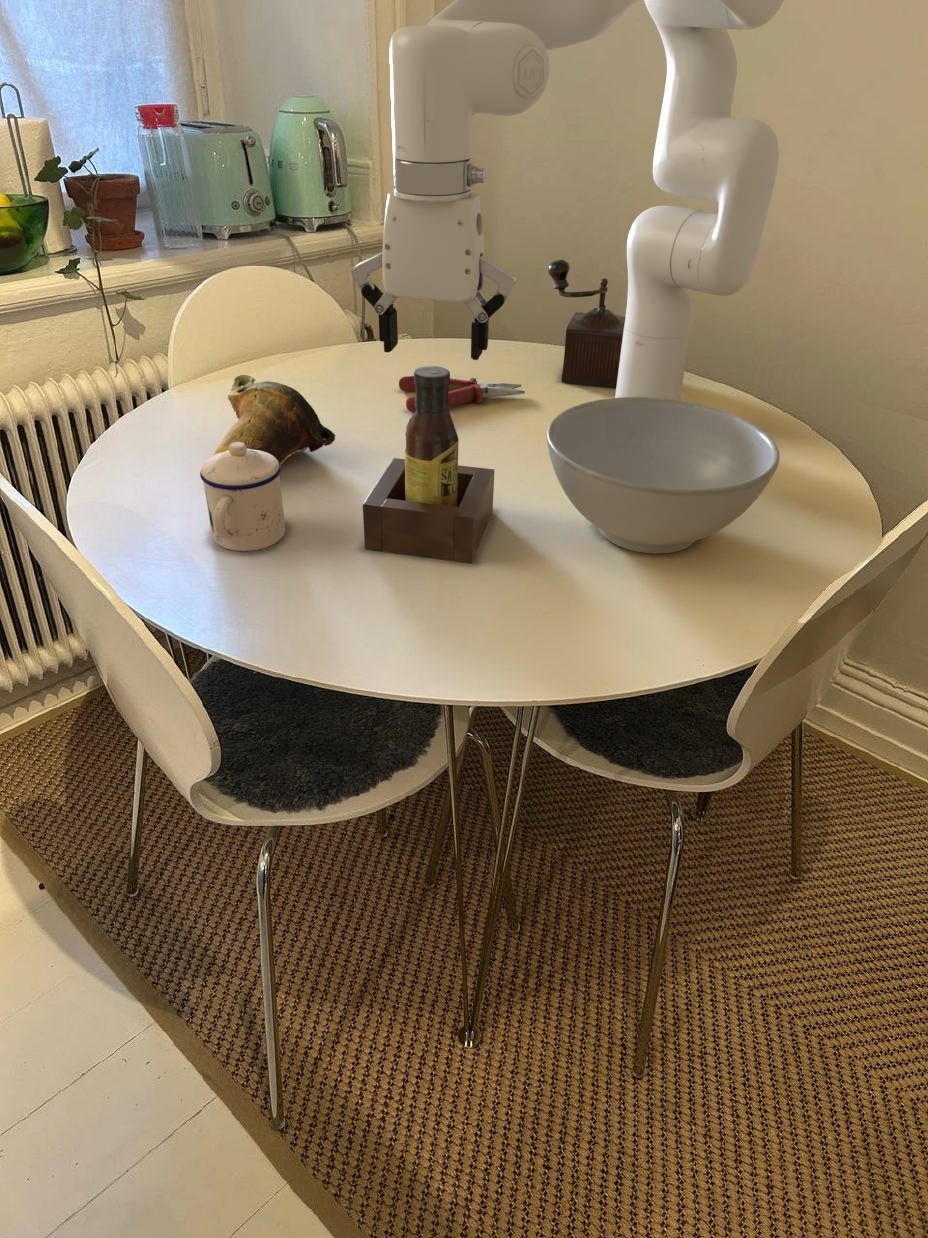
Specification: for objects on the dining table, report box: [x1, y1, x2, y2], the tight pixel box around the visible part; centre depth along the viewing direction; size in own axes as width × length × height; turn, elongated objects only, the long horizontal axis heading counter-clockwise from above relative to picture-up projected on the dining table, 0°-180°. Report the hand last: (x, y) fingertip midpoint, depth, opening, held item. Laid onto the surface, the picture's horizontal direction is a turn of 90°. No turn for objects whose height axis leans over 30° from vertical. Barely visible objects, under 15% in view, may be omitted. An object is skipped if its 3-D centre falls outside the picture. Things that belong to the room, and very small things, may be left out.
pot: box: [212, 374, 336, 466], centre depth 120 cm, size 17×11×18 cm
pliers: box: [398, 375, 526, 413], centre depth 143 cm, size 12×20×3 cm, turn 100°
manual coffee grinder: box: [547, 258, 626, 389], centre depth 149 cm, size 16×11×18 cm
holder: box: [362, 457, 496, 564], centre depth 106 cm, size 13×13×6 cm
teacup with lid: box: [199, 442, 286, 552], centre depth 101 cm, size 12×9×12 cm
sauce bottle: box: [404, 365, 460, 507], centre depth 102 cm, size 7×6×20 cm
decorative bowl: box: [546, 397, 781, 554], centre depth 106 cm, size 27×27×12 cm
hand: (433, 351), depth 95 cm, fingers open, 9 cm apart
